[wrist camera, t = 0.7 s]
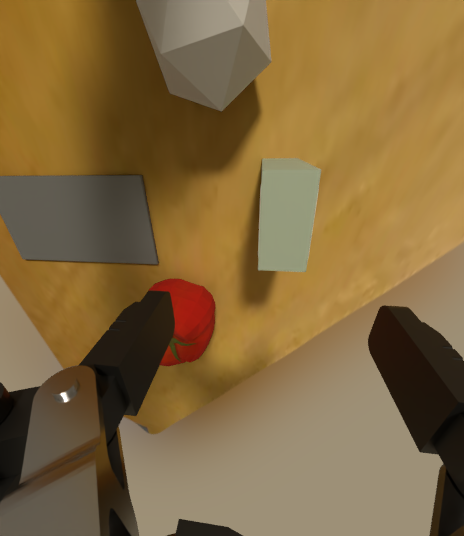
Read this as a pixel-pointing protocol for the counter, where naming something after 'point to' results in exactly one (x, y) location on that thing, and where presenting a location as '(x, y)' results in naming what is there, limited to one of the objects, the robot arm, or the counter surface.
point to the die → (208, 46)
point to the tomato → (188, 320)
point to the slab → (286, 213)
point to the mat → (79, 218)
